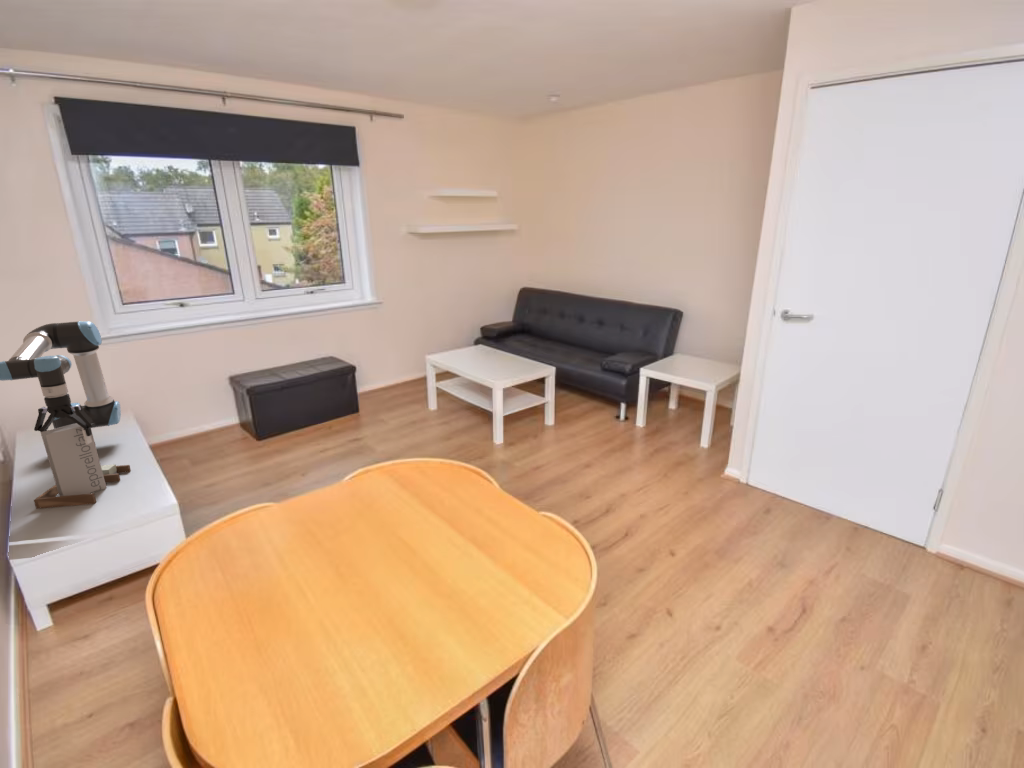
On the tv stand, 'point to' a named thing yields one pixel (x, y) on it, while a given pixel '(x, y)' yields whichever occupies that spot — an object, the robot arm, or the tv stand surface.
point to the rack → (51, 501)
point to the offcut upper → (108, 469)
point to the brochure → (73, 461)
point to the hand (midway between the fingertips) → (70, 444)
